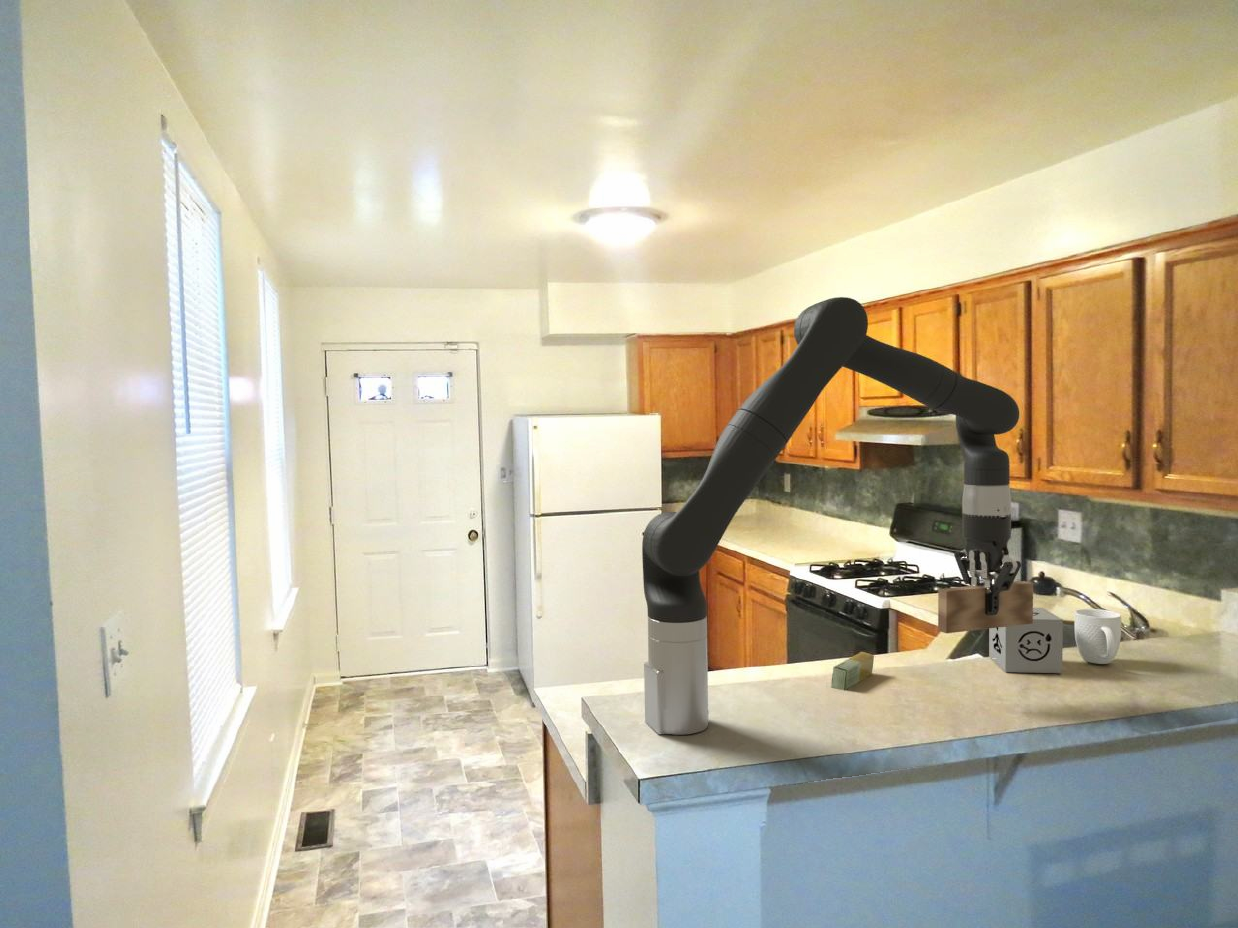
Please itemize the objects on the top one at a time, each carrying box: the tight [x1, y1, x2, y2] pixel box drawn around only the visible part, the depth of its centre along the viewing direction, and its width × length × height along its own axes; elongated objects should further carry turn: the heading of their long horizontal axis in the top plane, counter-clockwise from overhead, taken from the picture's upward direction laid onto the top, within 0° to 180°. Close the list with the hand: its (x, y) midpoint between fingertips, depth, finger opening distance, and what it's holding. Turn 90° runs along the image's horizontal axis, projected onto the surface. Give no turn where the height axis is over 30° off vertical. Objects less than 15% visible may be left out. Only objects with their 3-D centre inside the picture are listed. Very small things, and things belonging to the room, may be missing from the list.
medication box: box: [830, 651, 875, 691], centre depth 153 cm, size 12×3×4 cm, turn 140°
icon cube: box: [988, 607, 1064, 674], centre depth 162 cm, size 10×10×10 cm
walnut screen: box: [937, 580, 1034, 634], centre depth 143 cm, size 18×2×7 cm, turn 109°
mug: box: [1073, 608, 1122, 665], centre depth 162 cm, size 11×8×9 cm
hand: (986, 612), depth 143 cm, fingers closed on walnut screen, 2 cm apart
